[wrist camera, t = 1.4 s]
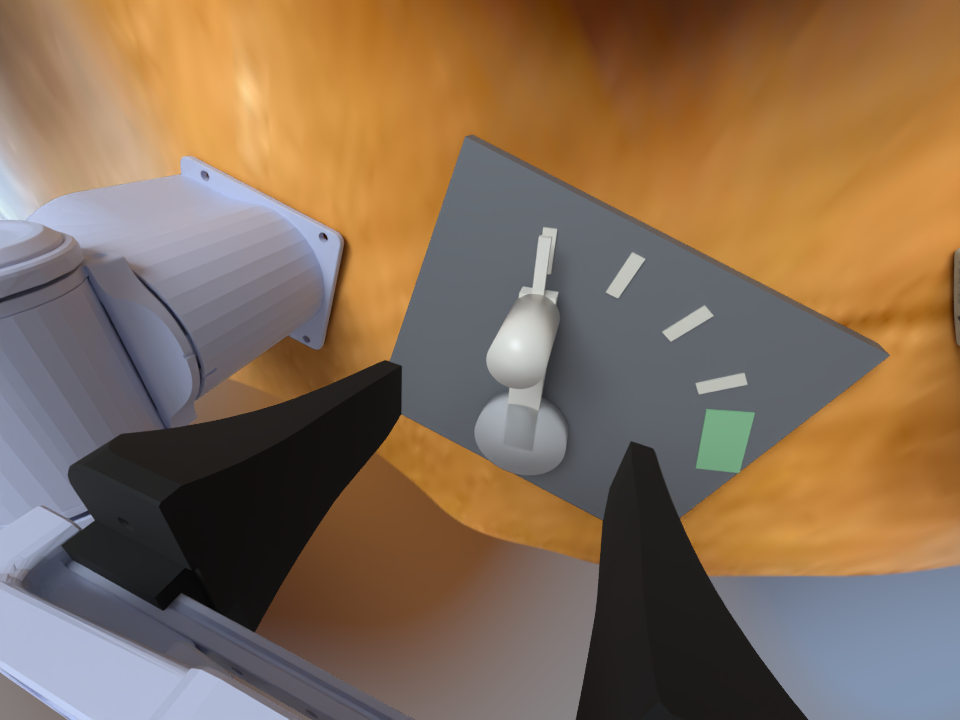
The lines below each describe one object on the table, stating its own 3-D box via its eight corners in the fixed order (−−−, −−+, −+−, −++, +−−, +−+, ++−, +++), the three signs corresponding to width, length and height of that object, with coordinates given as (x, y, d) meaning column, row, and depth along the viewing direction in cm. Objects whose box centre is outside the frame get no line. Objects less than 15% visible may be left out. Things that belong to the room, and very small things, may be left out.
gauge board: (383, 391, 27) (375, 401, 26) (472, 134, 18) (464, 137, 17) (645, 530, 27) (646, 545, 26) (877, 343, 17) (891, 356, 16)
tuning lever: (561, 468, 24) (547, 547, 20) (478, 448, 25) (449, 519, 21) (610, 237, 17) (606, 284, 13) (491, 222, 18) (450, 261, 14)
